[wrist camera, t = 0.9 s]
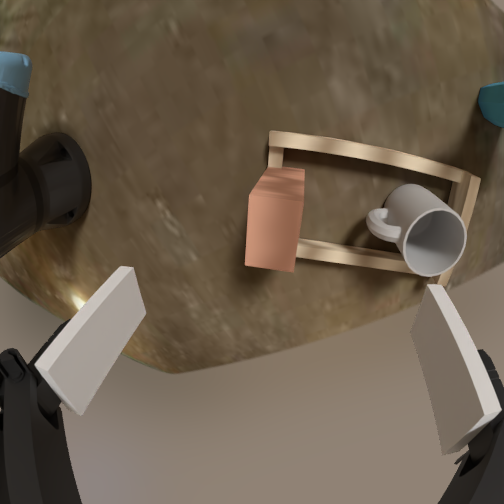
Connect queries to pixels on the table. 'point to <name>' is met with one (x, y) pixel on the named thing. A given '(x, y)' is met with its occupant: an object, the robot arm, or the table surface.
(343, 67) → the table surface
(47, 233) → the table surface
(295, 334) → the table surface
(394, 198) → the cup
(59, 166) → the robot arm
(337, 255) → the frame
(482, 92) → the cup
